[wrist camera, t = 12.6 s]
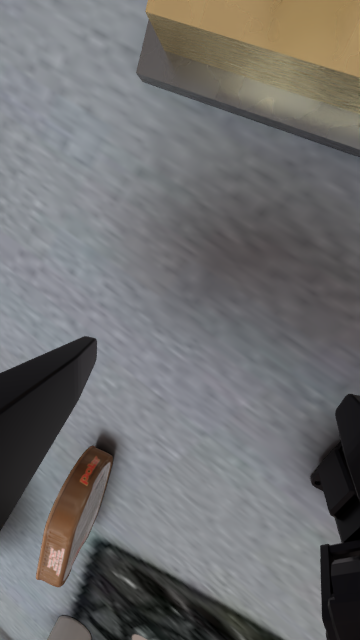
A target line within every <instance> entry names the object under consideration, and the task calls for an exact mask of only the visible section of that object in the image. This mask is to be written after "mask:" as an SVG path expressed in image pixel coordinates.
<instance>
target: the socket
mask: <svg viewBox="0 0 360 640" xmlns="http://www.w3.org/2000/svg"><path fill="white" fill-rule="evenodd" d="M145 12H146V14H147V16H148V18H149V21H148V25H147V30H146V34H145V38H144V42H143V46H142V51H141V55H140V59H139V63H138V67H137V72H136V73H137V75H138V76H139V77H140V79H141V80H142V82H145V83H148V84H151V85H154V86H157V87H160V88H163V89H165V90H168V91H171V92H174V93H177V94H180V95H183V96H186V97H189V98H191V99H194V100H197V101H200V102H203V103H206V104H209V105H212V106H214V107H217V108H220V109H223V110H226V111H229V112H232V113H235V114H237V115H240V116H243V117H246V118H249V119H252V120H255V121H258V122H261V123H263V124H266V125H269V126H272V127H275V128H278V129H281V130H284V131H286V132H289V133H292V134H295V135H298V136H301V137H304V138H307V139H309V140H312V141H315V142H318V143H321V144H324V145H327V146H330V147H333V148H335V149H338V150H341V151H344V152H347V153H350V154H353V155H356V156H358V157H360V0H148V3H147V7H146V11H145Z"/></svg>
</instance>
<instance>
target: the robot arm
mask: <svg viewBox="0 0 360 640" xmlns="http://www.w3.org/2000/svg"><path fill="white" fill-rule="evenodd" d="M96 358H97V340H96V339H95V338H92V337H87V336H84V337H82V338H79V339H77V340H75V341H72V342H70V343H68V344H66V345H63V346H61V347H59V348H57V349H54V350H52V351H50V352H47V353H45V354H43V355H41V356H38V357H36V358H34V359H31V360H29V361H27V362H25V363H22V364H20V365H18V366H16V367H13V368H11V369H9V370H6V371H4V372H2V373H0V530H1V529H2V527H3V525H4V524H5V522H6V520H7V519H8V517H9V515H10V514H11V512H12V510H13V509H14V507H15V505H16V504H17V502H18V500H19V499H20V497H21V495H22V494H23V492H24V490H25V489H26V487H27V485H28V484H29V482H30V480H31V479H32V477H33V475H34V474H35V472H36V470H37V469H38V467H39V465H40V464H41V462H42V460H43V459H44V457H45V455H46V454H47V452H48V450H49V449H50V447H51V445H52V444H53V442H54V440H55V439H56V437H57V435H58V434H59V432H60V430H61V429H62V427H63V425H64V424H65V422H66V420H67V419H68V417H69V415H70V413H71V412H72V410H73V408H74V407H75V405H76V403H77V402H78V400H79V398H80V396H81V393H82V391H83V389H84V387H85V385H86V382H87V380H88V378H89V376H90V373H91V371H92V369H93V367H94V365H95V362H96ZM335 416H336V420H337V425H338V429H339V433H340V438H341V442H340V443H339V444H338V446H337V447H336V448H335V449H333V450H332V451H331V452H330V453H329V455H328V456H327V457H326V458H325V459H324V460H323V462H322V463H321V464H320V465H319V466H318V469H317V470H316V471H315V472H314V474H313V475H312V476H311V483H312V485H313V486H314V487H316V488H318V489H320V490H322V491H324V495H325V498H326V502H327V506H328V510H329V513H330V515H331V516H333V517H335V521H336V524H337V528H338V531H339V535H340V539H341V542H342V543H339V544H334V545H329V544H325V545H321V546H320V550H321V560H320V562H321V597H322V620H323V623H324V626H325V629H326V638H327V640H360V396H358V395H354V394H348V395H346V396H345V398H344V399H343V400H342V402H341V403H340V405H339V406H338V408H337V409H336V413H335Z"/></svg>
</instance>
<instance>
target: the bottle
mask: <svg viewBox="0 0 360 640" xmlns="http://www.w3.org/2000/svg"><path fill="white" fill-rule="evenodd" d="M91 639H92V638H91V634H90V632H89V631H88V629H86V627H85V626H84V625H82V623H81V622H79V621H77V620H76V619H74V618H71V617H69V616H65V615H63V616H60V617H59V618H58V620H57V622H56V624H55V626H54V628H53V629H52V631H51V633H50V635H49V637H48V639H47V640H91Z"/></svg>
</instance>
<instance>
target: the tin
mask: <svg viewBox="0 0 360 640" xmlns="http://www.w3.org/2000/svg"><path fill="white" fill-rule="evenodd" d="M112 463H113V457H112V455H110V454H109V453H106V452H104V451H102V450H100V449H97V448H96V447H95V446H90V447H89V448H88V449H87V450H86V451H85V452H84V453H83V454H82V456H81V457H80V458H79V460H78V461H77V463H76V464H75V466H74V467H73V469H72V470H71V472H70V474H69V475H68V477H67V479H66V481H65V483H64V484H63V486H62V488H61V490H60V492H59V494H58V496H57V498H56V500H55V502H54V505H53V507H52V509H51V512H50V514H49V517H48V519H47V522H46V526H45V529H44V535H43V541H42V546H41V552H40V557H39V563H38V568H37V573H36V579H37V580H43V581H45V582H47V583H49V584H51V585H53V586H55V587H61V586H62V585H63V584H64V583H65V581H66V579H67V578H68V576H69V574H70V571H71V568H72V565H73V563H74V561H75V559H76V557H77V555H78V553H79V551H80V549H81V547H82V546H83V544H84V543H85V541H86V540H87V538H88V536H89V533H90V531H91V529H92V526H93V524H94V521H95V519H96V516H97V514H98V511H99V508H100V505H101V502H102V498H103V495H104V492H105V489H106V485H107V482H108V478H109V475H110V471H111V467H112Z"/></svg>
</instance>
